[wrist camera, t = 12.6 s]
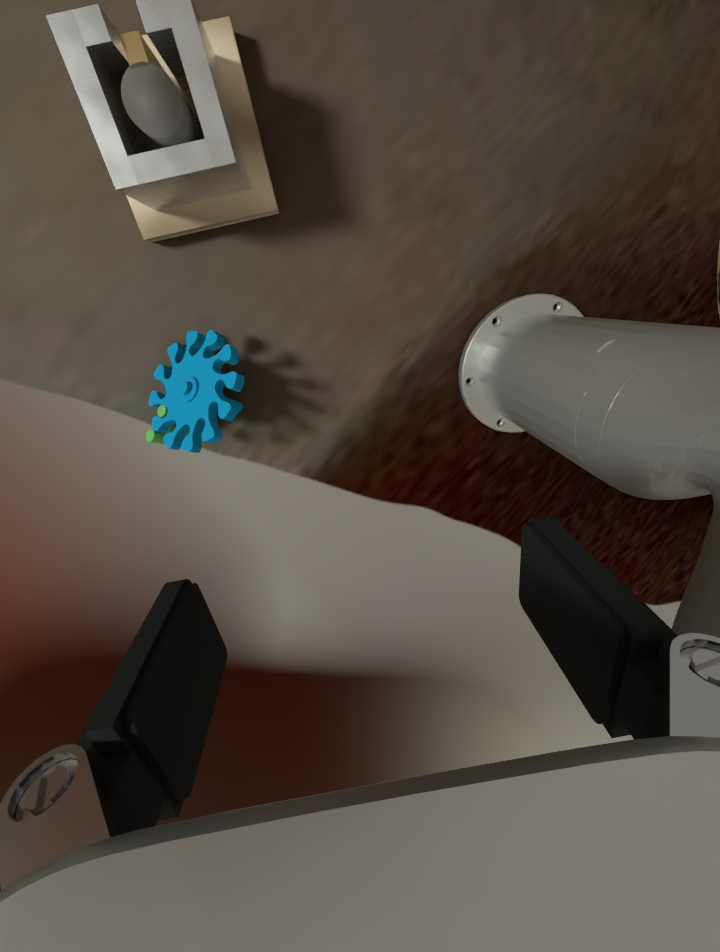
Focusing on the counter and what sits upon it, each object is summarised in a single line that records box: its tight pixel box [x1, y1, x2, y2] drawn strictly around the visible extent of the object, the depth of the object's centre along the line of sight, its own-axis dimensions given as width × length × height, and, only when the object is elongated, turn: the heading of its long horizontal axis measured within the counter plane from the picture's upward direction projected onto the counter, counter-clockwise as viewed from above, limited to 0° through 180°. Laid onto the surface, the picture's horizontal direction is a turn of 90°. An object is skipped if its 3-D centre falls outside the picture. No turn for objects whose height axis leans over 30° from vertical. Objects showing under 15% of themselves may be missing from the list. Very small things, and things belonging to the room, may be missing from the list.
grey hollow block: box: [46, 0, 251, 211], centre depth 23 cm, size 7×7×6 cm
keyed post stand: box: [119, 16, 279, 242], centre depth 24 cm, size 10×10×7 cm
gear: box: [146, 330, 245, 453], centre depth 32 cm, size 11×6×10 cm
